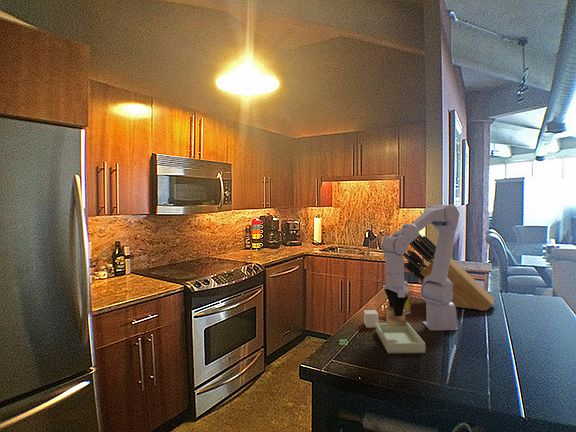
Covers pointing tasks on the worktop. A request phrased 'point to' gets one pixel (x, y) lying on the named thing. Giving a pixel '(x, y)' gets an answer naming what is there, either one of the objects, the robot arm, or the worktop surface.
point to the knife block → (448, 276)
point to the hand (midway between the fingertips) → (396, 312)
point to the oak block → (394, 318)
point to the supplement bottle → (407, 305)
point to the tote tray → (400, 339)
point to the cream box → (370, 318)
